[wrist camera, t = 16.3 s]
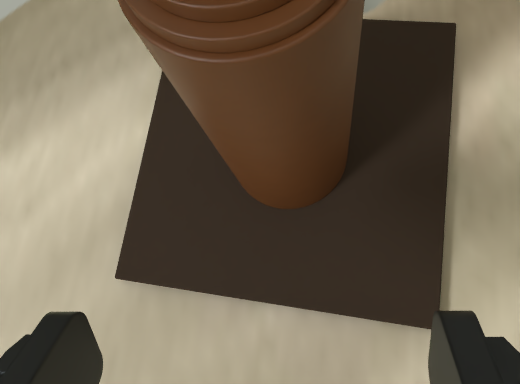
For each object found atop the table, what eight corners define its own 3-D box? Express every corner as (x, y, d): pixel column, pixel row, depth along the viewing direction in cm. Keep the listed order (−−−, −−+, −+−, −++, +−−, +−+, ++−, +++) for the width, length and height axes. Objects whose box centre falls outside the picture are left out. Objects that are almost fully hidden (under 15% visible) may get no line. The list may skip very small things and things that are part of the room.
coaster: (120, 279, 24) (114, 278, 23) (179, 19, 28) (175, 10, 27) (434, 329, 21) (438, 330, 20) (452, 31, 25) (456, 22, 24)
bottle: (224, 202, 23) (-185, -231, 5) (243, 97, 25) (-17, -550, 6) (340, 216, 22) (393, -273, 4) (353, 106, 24) (437, -649, 5)
